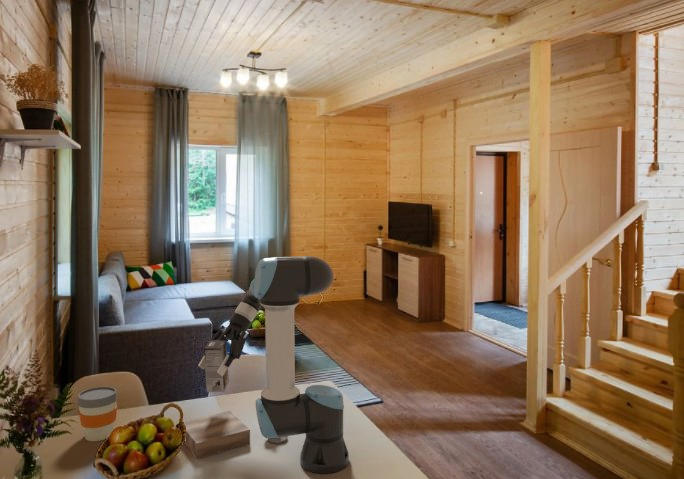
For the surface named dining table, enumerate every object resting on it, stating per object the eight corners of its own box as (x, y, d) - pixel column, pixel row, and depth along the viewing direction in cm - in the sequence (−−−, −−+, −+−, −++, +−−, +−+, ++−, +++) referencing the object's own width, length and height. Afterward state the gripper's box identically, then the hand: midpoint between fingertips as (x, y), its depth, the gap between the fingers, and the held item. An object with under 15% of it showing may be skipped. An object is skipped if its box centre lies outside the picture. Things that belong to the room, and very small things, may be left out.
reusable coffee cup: (126, 432, 186) (125, 391, 185) (92, 447, 176) (90, 403, 175) (105, 423, 193) (103, 383, 192) (71, 437, 183) (69, 394, 182)
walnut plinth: (250, 443, 179) (249, 429, 178) (196, 458, 169) (196, 443, 168) (229, 423, 194) (229, 410, 193) (179, 436, 184) (179, 422, 183)
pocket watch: (284, 445, 178) (284, 416, 177) (260, 442, 180) (259, 414, 179) (291, 434, 186) (291, 406, 185) (268, 432, 188) (267, 404, 187)
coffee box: (212, 382, 197) (209, 340, 195) (229, 382, 197) (227, 339, 195) (206, 392, 188) (203, 348, 186) (224, 392, 188) (221, 347, 186)
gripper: (269, 327, 194) (236, 383, 184) (229, 318, 209) (198, 368, 199) (257, 316, 189) (223, 372, 179) (217, 307, 204) (184, 359, 194)
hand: (210, 370), depth 189 cm, fingers closed on coffee box, 10 cm apart
